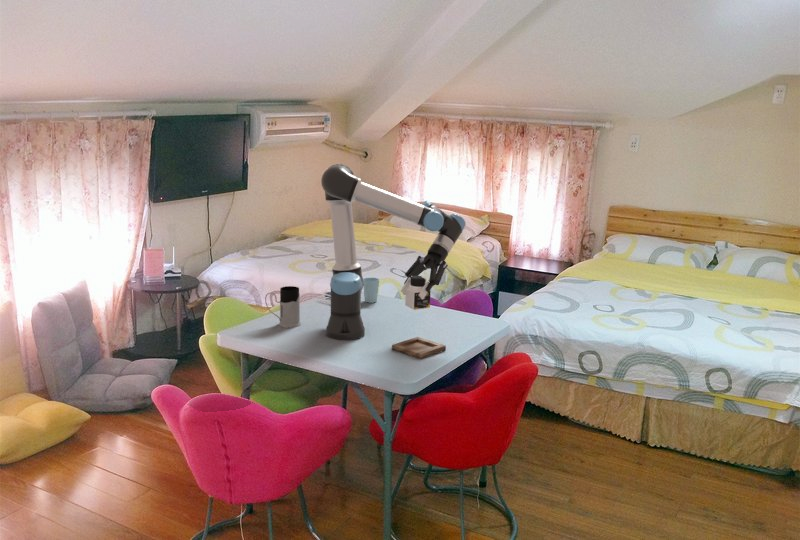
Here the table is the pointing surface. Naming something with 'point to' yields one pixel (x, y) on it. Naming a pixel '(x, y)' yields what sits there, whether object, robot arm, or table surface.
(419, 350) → the coaster tray
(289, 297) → the black and white mug
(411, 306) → the medicine bottle
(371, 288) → the cup
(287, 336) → the table surface
